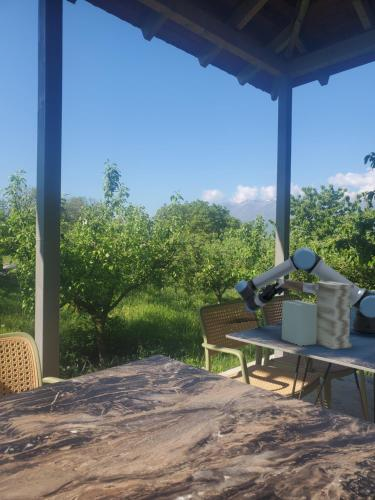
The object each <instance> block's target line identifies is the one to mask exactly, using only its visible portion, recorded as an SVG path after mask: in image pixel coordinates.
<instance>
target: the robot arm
mask: <svg viewBox="0 0 375 500" xmlns="http://www.w3.org/2000/svg"><path fill="white" fill-rule="evenodd" d="M300 270H302V271H303V272H305V273H306V274H308V275H309V276H310V275H314V276H315V277H316V278H318V279H319V280H321V282H340V283H347V284H354V289H351V294H350V305H351V307H354V308H355V318H354V321H353V324H352V325H351V329H352V331H356V332H357V333H364V334H375V290H368V289H367V288H366V287H364V288H360V287H359V286H358V285H356V284H355V283H353V282H352V281H350V280H349V279H348V278H346V277H345V276H343V275H342V274H340V273H339V272H338V271H336V270H335V269H333V268H332V267H331V266H329V265H328V264H326V263H325V262H324V260H323V257H321V256H320V255H319V254H317V253H316V252H314V251H313V250H312V249H310V248H308V247H300V248H299V249H297V250H296V251H295V252H294V254H292V255H291V256H288V259H287V260H284V261H283V262H281V263H279V264H277V265H275V266H273V267H271V268H270V269H268V270H266V271H264V272H263V273H260V274H259V275H257V276H255V277H253V278H251V279H250V280H248V281H246V280H245V279H242V280H240V281H239V282H237V283H236V284H235V285H234V289H235V290H236V292H237V293H238V294H239V296H240V297H241V298H242V299H243V301H244V302H245V308H246V310H247V311H248V312H249V313H255V312H257V311H259V310H260V309H261V308H264V306H265V305H267V304H269V303H270V302H272V300H273V299H274V297H275V296H276V295H278V296H280V295H281V294H283V293H284V292H285V291H287V290H288V289H287V288H281V287H280V286H281V285H282V284H284V281H283V279H284V278H282V277H285V276H287V275H288V274H291V273H292V272H294V271H296V272H298V271H300ZM276 279H280V280H279V281H278V282H276ZM291 279H292V278H289V277H288V279H286V280H291ZM274 282H275V283H274ZM271 283H273V284H271ZM262 288H263V289H262ZM256 291H259V292H257V294H256V293H255V292H256Z"/></svg>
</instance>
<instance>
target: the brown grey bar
mask: <svg viewBox="0 0 375 500" xmlns="http://www.w3.org/2000/svg"><path fill="white" fill-rule="evenodd" d="M280 279H281V278H279V279H276V281H275V283H276V282H278V281H279V280H280ZM283 281H284V284H282V285H281V286H280V287H281V288H287V290H293V291H299V292H303V293H309V294H316V293H318V284H314V283H311V282H303V281H297V280H287V279H284V278H283Z"/></svg>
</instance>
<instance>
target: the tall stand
mask: <svg viewBox="0 0 375 500" xmlns="http://www.w3.org/2000/svg"><path fill="white" fill-rule="evenodd" d="M313 284H318V293H315V296H316V298H315V299H316V300H315V302H316V303H315V304H317V333H316V344H315V345H320V346H323V347H325V348H328V349H331V350H338V349H347V348H353V343H350V324H351V323H350V322H351V320H350V319H351V315H350V305H351V301H350V294H351V289H354V284H355V283H353V284H347V283H340V282H324V281H313Z"/></svg>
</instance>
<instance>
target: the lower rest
mask: <svg viewBox="0 0 375 500" xmlns="http://www.w3.org/2000/svg"><path fill="white" fill-rule="evenodd" d="M316 333H317V304H316V303H312V302H309V301H304V300H297V299H296V300H295V299H294V300H282V312H281V340H282V341H286V342H288V343H290V344H293V343H294V344H293V345H296V344H297V345H296V346H299V347H301V346H302V347H303V345H304V346H312V345H317V344H316Z"/></svg>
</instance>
